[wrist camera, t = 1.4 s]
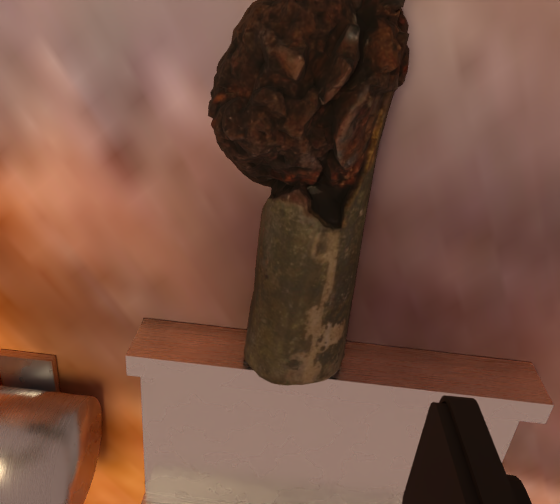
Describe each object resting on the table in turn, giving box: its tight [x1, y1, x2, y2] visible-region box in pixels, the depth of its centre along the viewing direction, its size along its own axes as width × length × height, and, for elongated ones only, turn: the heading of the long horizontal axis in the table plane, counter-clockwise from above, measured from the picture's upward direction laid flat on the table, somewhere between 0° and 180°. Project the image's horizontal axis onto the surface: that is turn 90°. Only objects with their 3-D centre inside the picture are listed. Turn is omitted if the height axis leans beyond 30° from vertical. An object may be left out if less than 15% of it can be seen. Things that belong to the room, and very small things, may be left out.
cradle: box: [126, 318, 554, 504], centre depth 29 cm, size 20×13×3 cm
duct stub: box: [0, 349, 102, 504], centre depth 28 cm, size 8×7×7 cm
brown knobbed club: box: [208, 0, 409, 386], centre depth 21 cm, size 18×7×6 cm, turn 174°
